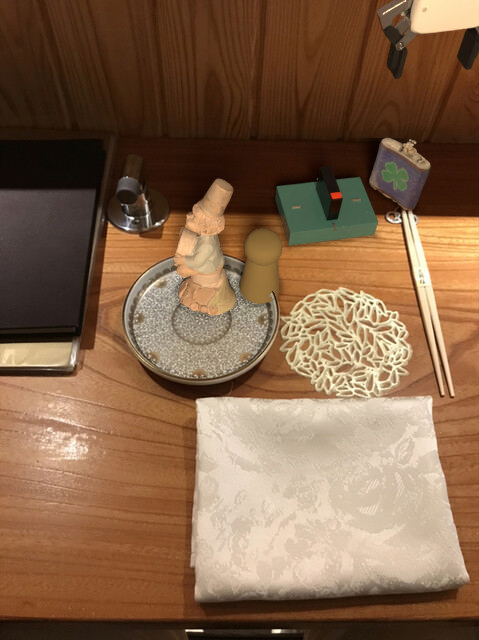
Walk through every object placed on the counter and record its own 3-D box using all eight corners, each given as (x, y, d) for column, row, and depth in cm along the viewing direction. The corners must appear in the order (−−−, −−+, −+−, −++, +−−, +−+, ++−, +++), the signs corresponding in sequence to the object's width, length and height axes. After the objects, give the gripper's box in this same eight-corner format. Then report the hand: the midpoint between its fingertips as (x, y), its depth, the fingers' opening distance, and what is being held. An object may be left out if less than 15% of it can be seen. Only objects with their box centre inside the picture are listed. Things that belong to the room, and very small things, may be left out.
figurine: (238, 272, 85) (241, 173, 68) (234, 320, 80) (237, 225, 63) (179, 269, 85) (168, 168, 68) (172, 316, 80) (158, 220, 63)
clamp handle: (315, 188, 90) (319, 166, 86) (326, 187, 91) (331, 164, 87) (326, 220, 87) (331, 199, 83) (337, 219, 87) (343, 197, 83)
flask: (365, 183, 95) (380, 132, 86) (376, 175, 97) (392, 123, 88) (409, 213, 92) (430, 163, 83) (419, 204, 93) (441, 154, 84)
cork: (233, 295, 82) (234, 247, 73) (247, 265, 86) (250, 216, 76) (271, 309, 81) (278, 262, 72) (285, 278, 84) (293, 229, 75)
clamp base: (355, 187, 95) (359, 173, 92) (375, 238, 89) (379, 224, 86) (274, 196, 93) (275, 182, 91) (289, 248, 88) (291, 235, 85)
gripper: (533, -103, 62) (478, 44, 77) (384, -88, 61) (357, 59, 75) (567, -72, 58) (502, 77, 73) (409, -55, 57) (375, 94, 71)
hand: (428, 68), depth 74 cm, fingers open, 9 cm apart
